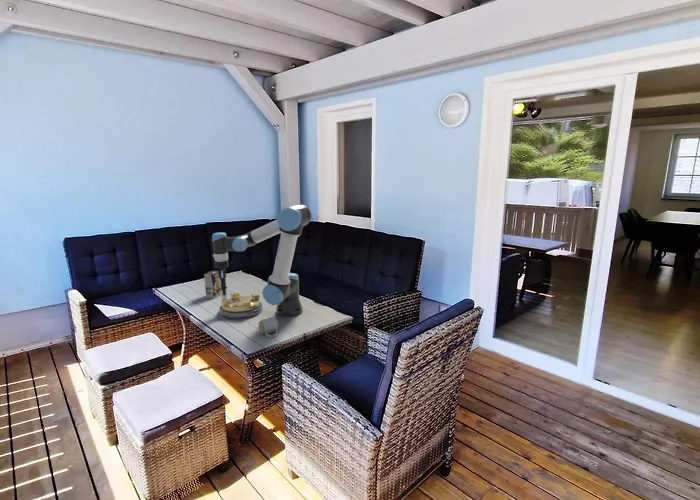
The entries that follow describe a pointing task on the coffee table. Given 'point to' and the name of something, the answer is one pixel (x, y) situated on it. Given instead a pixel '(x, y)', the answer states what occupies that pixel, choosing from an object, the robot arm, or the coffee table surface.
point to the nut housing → (241, 315)
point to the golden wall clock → (240, 303)
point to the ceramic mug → (268, 326)
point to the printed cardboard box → (212, 284)
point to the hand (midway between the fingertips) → (224, 299)
